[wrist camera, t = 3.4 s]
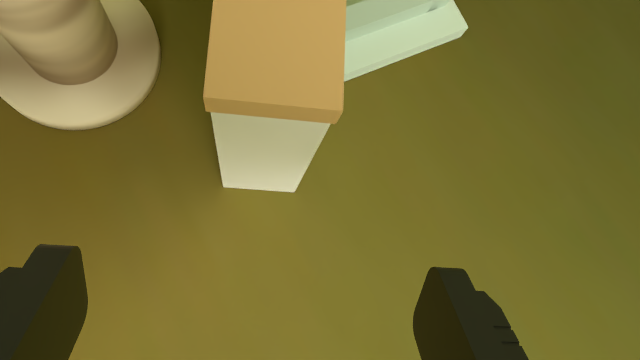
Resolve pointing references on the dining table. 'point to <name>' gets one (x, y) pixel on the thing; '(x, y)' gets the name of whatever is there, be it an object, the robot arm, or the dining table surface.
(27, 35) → the bobbin
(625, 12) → the dining table surface
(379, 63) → the ridged board
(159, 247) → the dining table surface
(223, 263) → the dining table surface
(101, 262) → the dining table surface
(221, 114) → the block
